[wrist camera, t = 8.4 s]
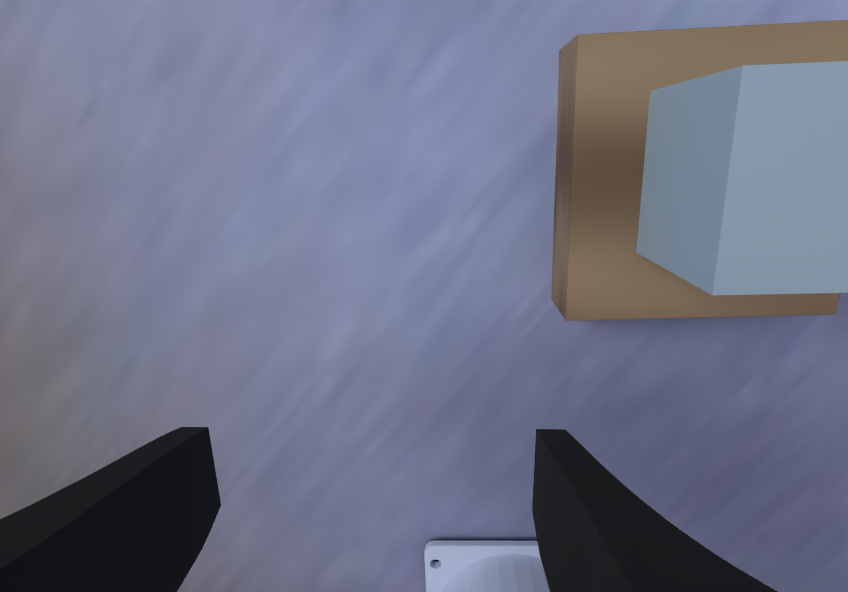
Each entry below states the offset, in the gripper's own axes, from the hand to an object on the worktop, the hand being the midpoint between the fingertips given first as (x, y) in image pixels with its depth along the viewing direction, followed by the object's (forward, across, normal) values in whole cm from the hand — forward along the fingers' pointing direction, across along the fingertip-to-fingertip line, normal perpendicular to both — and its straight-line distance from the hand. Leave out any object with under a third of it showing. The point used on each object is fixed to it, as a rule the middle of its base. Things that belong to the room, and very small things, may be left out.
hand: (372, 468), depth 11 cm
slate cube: (+7, -10, -6) cm, 14 cm away
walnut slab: (+10, -10, -5) cm, 16 cm away
